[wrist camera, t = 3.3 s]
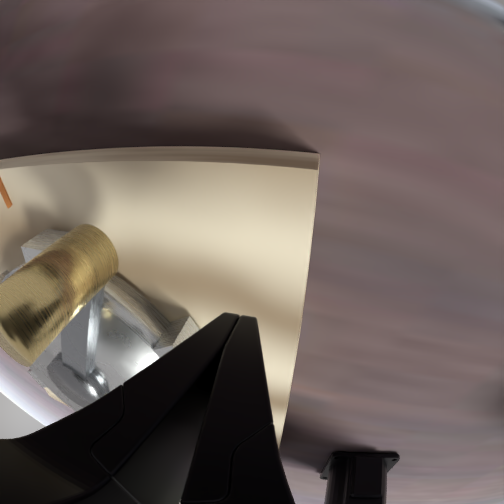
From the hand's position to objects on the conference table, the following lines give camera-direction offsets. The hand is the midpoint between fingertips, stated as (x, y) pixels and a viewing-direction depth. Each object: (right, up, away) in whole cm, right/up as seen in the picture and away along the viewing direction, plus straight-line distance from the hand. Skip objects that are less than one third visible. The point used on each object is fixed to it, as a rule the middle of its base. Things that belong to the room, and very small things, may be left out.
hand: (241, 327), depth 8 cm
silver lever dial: (-10, -5, +10) cm, 15 cm away
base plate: (-9, -3, +13) cm, 16 cm away
